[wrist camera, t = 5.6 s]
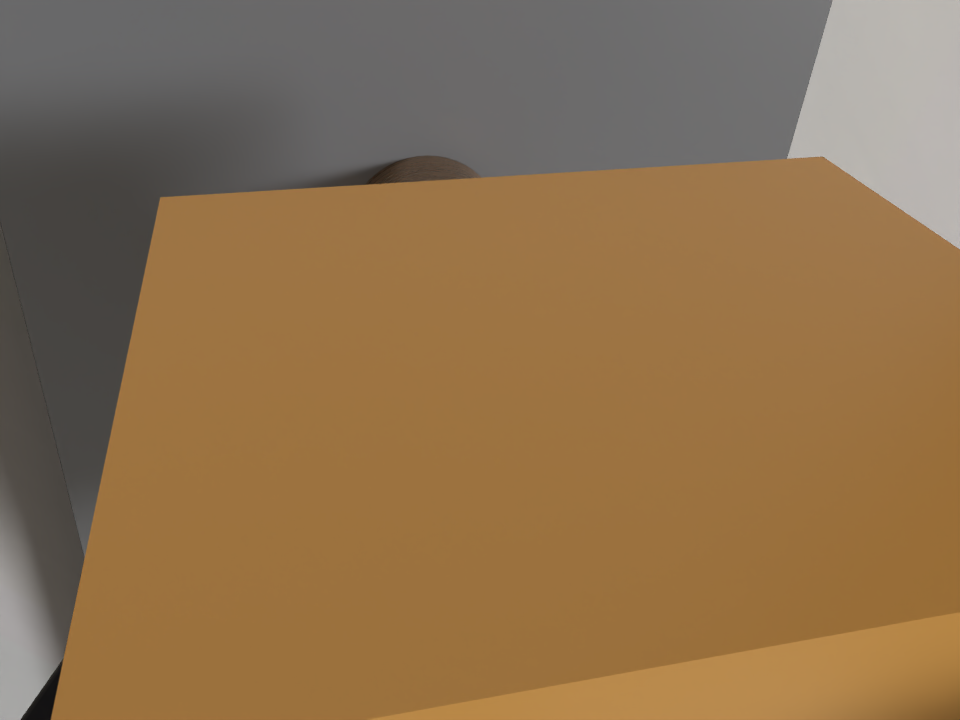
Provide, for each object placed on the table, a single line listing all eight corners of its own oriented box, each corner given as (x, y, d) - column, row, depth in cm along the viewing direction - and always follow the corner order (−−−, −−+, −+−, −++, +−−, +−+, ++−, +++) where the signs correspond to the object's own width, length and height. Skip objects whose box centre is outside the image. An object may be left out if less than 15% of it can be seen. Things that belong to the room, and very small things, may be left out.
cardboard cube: (710, 585, 12) (957, 1022, 8) (251, 660, 10) (252, 1225, 6) (822, 156, 8) (1380, 534, 4) (159, 197, 7) (37, 779, 3)
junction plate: (613, 640, 23) (633, 688, 22) (142, 704, 20) (135, 763, 19) (807, -119, 13) (862, -107, 12) (-61, -186, 11) (-101, -180, 9)
